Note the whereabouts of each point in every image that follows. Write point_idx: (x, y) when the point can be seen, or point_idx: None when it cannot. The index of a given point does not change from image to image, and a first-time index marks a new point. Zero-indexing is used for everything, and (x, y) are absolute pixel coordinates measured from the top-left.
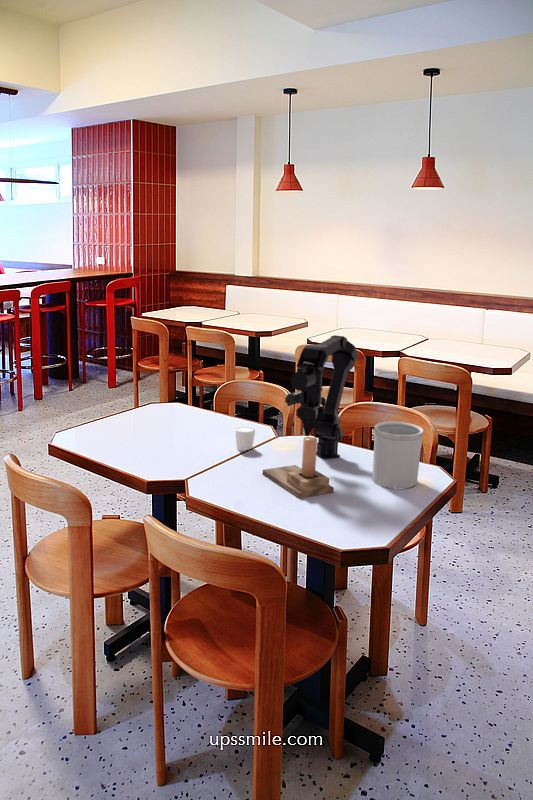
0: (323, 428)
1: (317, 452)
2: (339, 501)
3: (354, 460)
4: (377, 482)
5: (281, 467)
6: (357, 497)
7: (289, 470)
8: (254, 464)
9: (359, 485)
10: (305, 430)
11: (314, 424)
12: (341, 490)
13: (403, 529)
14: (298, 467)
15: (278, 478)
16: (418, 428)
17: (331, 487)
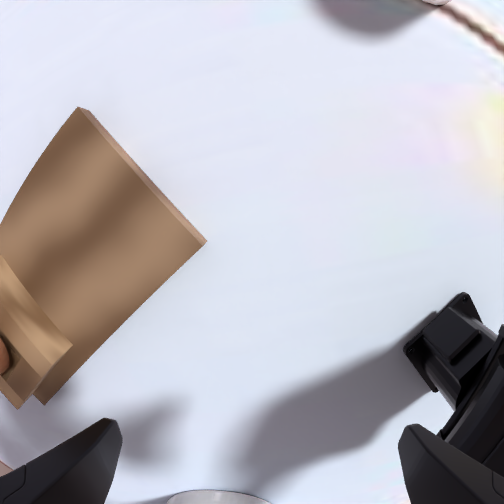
0: (479, 433)
1: (445, 315)
2: None
3: (398, 434)
4: (177, 497)
5: (134, 182)
6: (62, 442)
7: (107, 234)
8: (214, 29)
9: (144, 462)
10: (63, 452)
11: (410, 477)
12: (77, 417)
13: (6, 465)
14: (168, 271)
15: (13, 212)
16: None
17: (40, 399)
